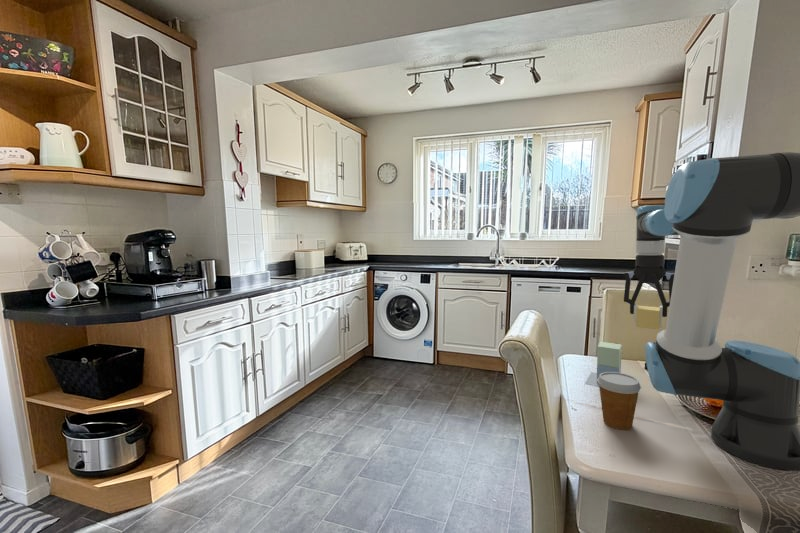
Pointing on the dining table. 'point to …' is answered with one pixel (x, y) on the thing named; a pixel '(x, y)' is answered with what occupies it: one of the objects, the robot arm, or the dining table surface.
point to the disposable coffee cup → (618, 398)
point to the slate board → (592, 379)
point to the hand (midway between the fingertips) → (647, 325)
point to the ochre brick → (647, 317)
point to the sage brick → (609, 354)
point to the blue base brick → (607, 369)
